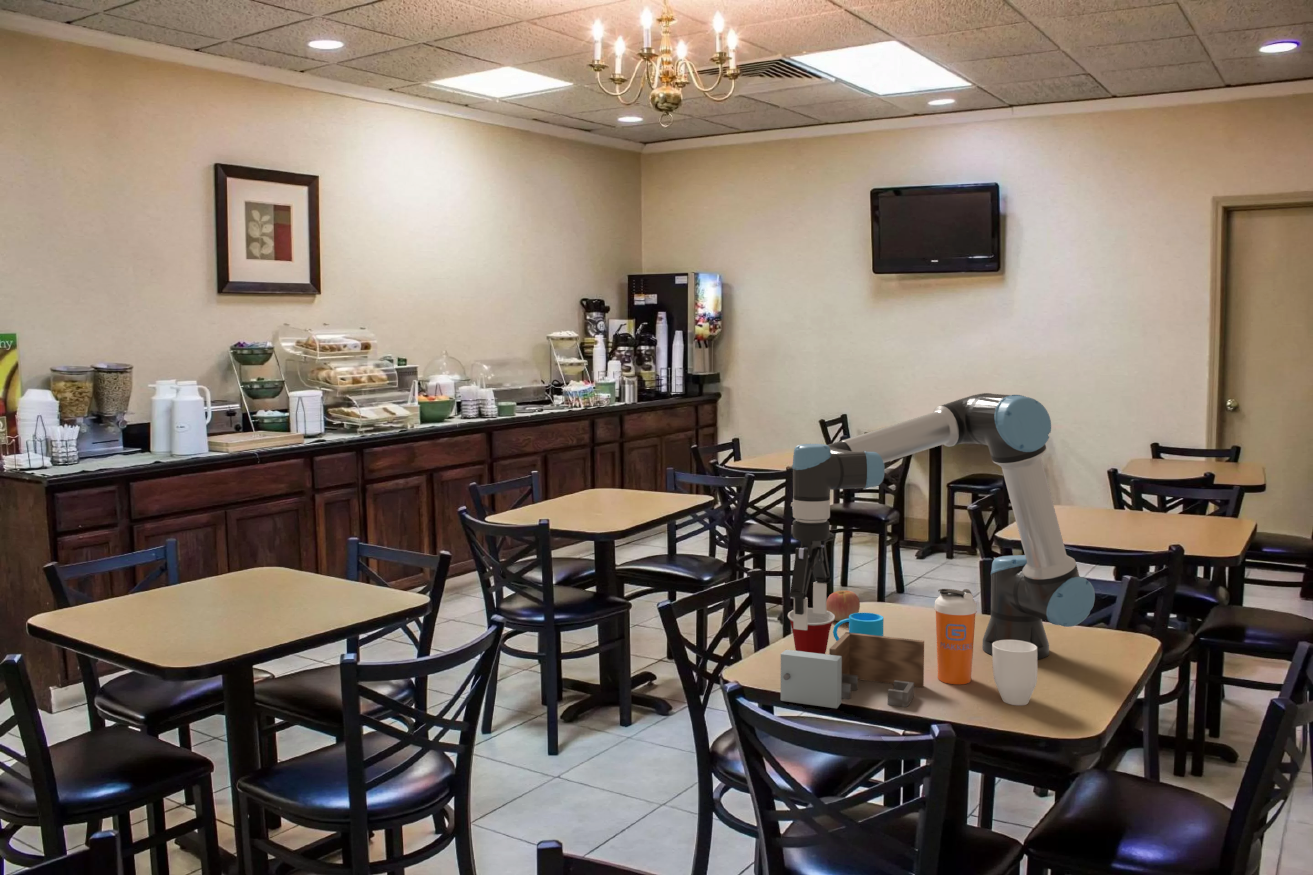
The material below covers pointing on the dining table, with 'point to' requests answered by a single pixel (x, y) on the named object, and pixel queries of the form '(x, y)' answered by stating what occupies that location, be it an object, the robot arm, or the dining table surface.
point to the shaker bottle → (955, 635)
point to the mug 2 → (1015, 670)
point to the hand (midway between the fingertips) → (810, 621)
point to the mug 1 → (862, 624)
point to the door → (811, 678)
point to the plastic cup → (813, 632)
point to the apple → (843, 604)
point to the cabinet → (881, 664)
